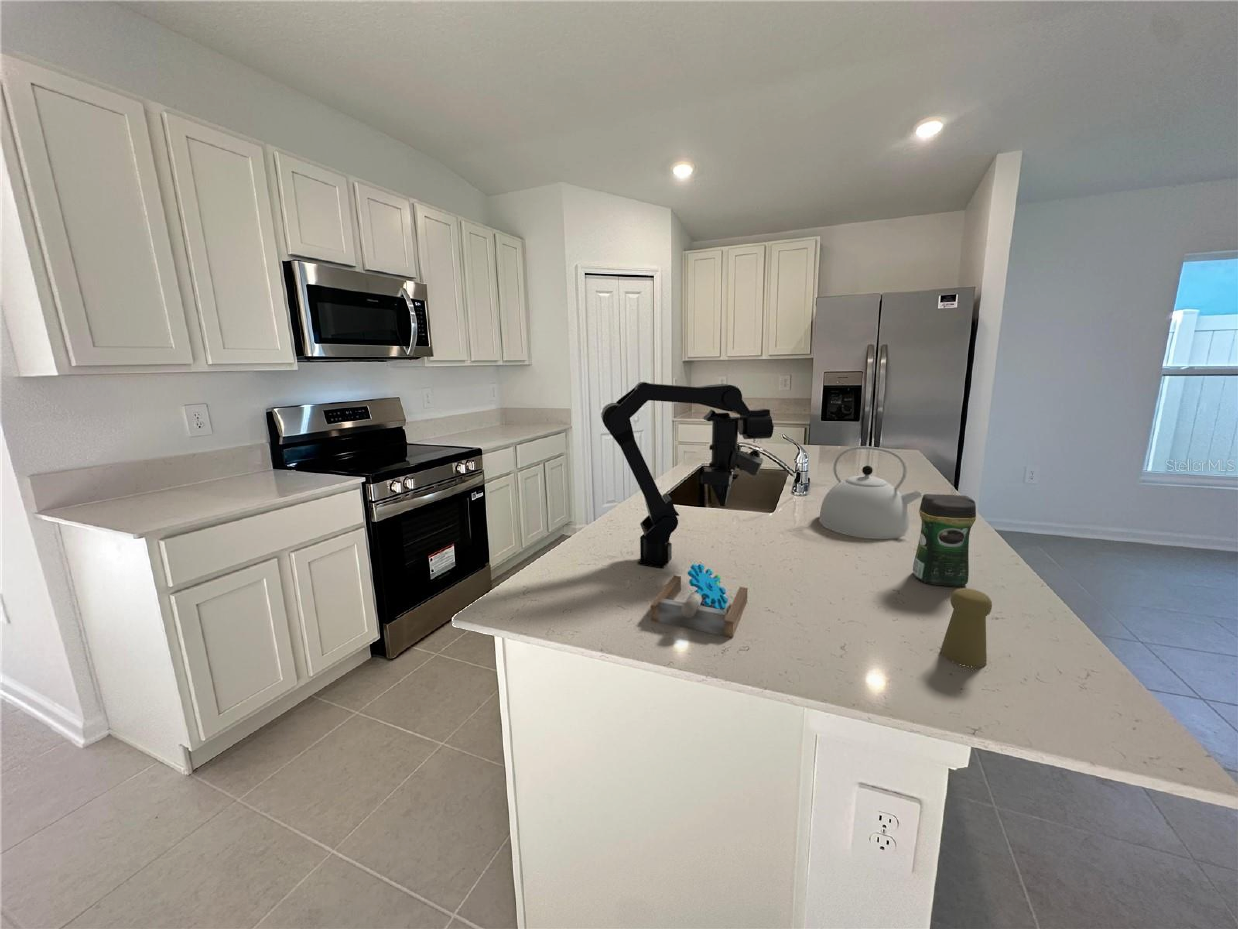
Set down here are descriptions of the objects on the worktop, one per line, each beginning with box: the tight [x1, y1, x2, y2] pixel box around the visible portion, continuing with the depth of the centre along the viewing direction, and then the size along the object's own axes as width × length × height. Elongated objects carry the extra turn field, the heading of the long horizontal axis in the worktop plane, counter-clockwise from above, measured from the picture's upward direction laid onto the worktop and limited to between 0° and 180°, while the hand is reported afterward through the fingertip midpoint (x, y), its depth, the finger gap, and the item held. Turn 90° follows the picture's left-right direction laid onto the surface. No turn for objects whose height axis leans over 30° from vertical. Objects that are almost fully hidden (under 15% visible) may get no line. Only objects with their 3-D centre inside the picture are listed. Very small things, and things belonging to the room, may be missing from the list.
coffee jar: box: [912, 493, 977, 587], centre depth 101 cm, size 10×8×19 cm
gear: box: [687, 563, 729, 610], centre depth 95 cm, size 11×6×10 cm
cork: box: [940, 587, 993, 668], centre depth 76 cm, size 6×6×11 cm
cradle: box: [650, 574, 749, 638], centre depth 91 cm, size 15×15×6 cm
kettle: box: [818, 445, 924, 540], centre depth 134 cm, size 25×23×23 cm
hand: (722, 505), depth 113 cm, fingers closed
